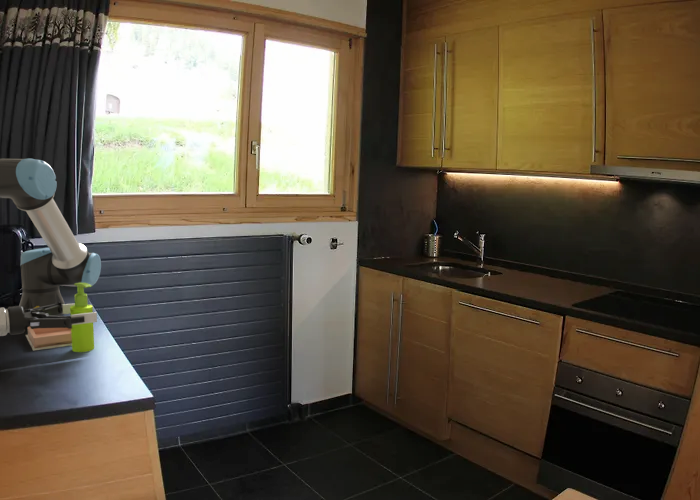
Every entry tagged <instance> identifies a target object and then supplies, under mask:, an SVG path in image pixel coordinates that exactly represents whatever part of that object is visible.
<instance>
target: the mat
mask: <svg viewBox="0 0 700 500" xmlns="http://www.w3.org/2000/svg"><path fill="white" fill-rule="evenodd" d="M25 337H26V339H27V341H28V344H29V345H30V347H31V349H32V351H39V350H47V349H48V350H49V349H56V348H61V347H62V348H63V347H68V346H72V343H70V344H62V345H55V346H48V347H41V348H34V347H33V345H32V343H31V341H30V339H29V337H28V334H25Z"/></svg>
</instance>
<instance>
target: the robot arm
mask: <svg viewBox="0 0 700 500" xmlns="http://www.w3.org/2000/svg"><path fill="white" fill-rule="evenodd" d="M56 179H57V176H56V174H55V172H54V169H53V168H52V167H51V165H50V164H49V163H47V162H46V161H44V160H41V159H34V158H29V157H28V158H0V199H11V200H12V203H14V205H15V206H16V208H17V209H19V210H21V211H24V212H26V213H27V215H28V217H29V218H30V221H32V223H33V225H34V227H35V228H36V229H37V232H38V233H39V236H41V238H42V239H43V241H44V242H45V244H46V246H47V247H43V248H41V247H40V248H36V249H31V250H30V249H29V250H26V251H24V252H22V253H21V255H20V273H21V274H20V275H21V288H22V294H21V298H20V302H19V305H15V306H8V307H7V308H5V307H0V337H4V336H7V335H8V333H9V335H11V336H12V335H13V336H14V335H21V334H25V332H26V327H31V329H37V328H68V329H70V328H72V325H77V324H85V323H93V324H94V323H97V322H98V317H97V316H98V313H97V311H94V312H91V313H83V314H74V315H69V314H70V307H71V306H74V305H75V302H74V303H73V302H72V303H66V304H65V301H64V298H63V296H62V294H61V291H60V286H61V287H63V286H65V287H76V286H75V285H74V284H75V283H80V282H81V283H88V284H90V285H92V286H94V285H95V284H96V283H97V282H98V280H99V278H100V275H101V271H102V269H101V268H102V261H101V257H100V255H99V254H98V253H95V252H89V251H88V248H87V247H86V246H85V245H84V244H83V243H82V242H78V241H77V239H76V237H75V234H73V231H72V230H71V228H70V226H69V224H68V222H67V221H66V219H65V217H64V216H63V214H62V212H61V210H60V209H59V207H58V204H57V203H56V201H55V199H54V197H55V193H56V190H57V185H58V184H57V181H56ZM36 306H39V307H37V308H35V307H36Z"/></svg>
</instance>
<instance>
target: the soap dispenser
mask: <svg viewBox="0 0 700 500" xmlns="http://www.w3.org/2000/svg"><path fill="white" fill-rule="evenodd" d="M74 285H75V286H74V287H76V289H77V293H75V294H74V296H73V297H74V303H75V305H74V306H71V307H70V315H69V316H71V315H74V314H83V313H91V312H93V309H94V308H93V306H94V305H92V304H88V302H89V301H88V293H85V289H88V288H92V287H93V285H90V284H88V283H81V282H80V283H75V284H74ZM94 329H95V328H94V322H93V323H85V324H77V325H72V328H71V336H72V345H71V351H72V352H75V353H87V352H92V351H93V350H95V336H94V335H95V334H94V331H95V330H94Z"/></svg>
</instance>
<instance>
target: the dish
mask: <svg viewBox="0 0 700 500" xmlns="http://www.w3.org/2000/svg"><path fill="white" fill-rule="evenodd" d="M27 335H28V337H29V339H30V341H31V343H32V345H33V347H34V348H41V347H48V346H55V345H62V344H70V343H72V336H71V328H70V329H68V328H37V329H31V327H30V326H27Z"/></svg>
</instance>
